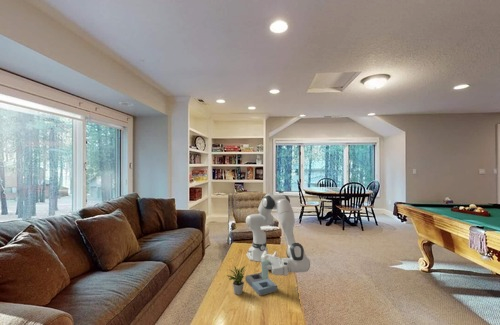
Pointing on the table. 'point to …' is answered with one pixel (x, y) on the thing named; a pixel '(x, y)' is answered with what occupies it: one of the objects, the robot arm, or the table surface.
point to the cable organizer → (268, 256)
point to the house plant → (237, 280)
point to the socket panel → (260, 284)
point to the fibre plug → (264, 271)
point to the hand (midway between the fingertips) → (263, 265)
